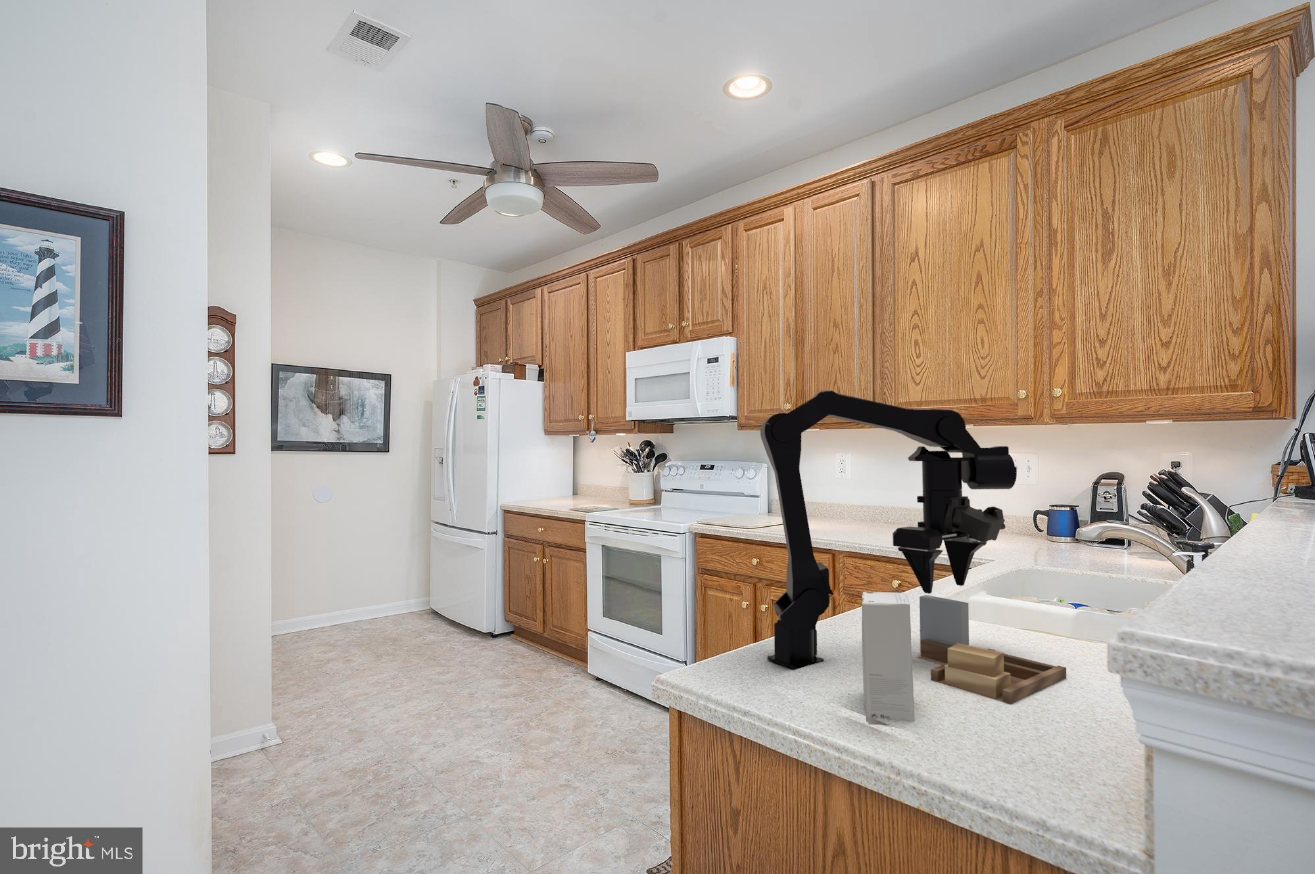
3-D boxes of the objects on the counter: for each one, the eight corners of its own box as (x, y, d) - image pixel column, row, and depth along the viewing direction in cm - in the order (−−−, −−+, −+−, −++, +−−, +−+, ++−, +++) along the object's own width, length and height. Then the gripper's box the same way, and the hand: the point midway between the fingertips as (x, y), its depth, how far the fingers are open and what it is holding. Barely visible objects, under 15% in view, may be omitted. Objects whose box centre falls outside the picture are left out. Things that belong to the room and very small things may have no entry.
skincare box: (915, 730, 78) (913, 605, 78) (862, 723, 79) (861, 601, 80) (910, 704, 86) (909, 590, 86) (862, 698, 87) (861, 588, 88)
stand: (946, 672, 98) (946, 648, 98) (916, 663, 102) (916, 641, 102) (971, 663, 102) (971, 640, 102) (941, 655, 106) (941, 633, 106)
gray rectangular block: (962, 664, 98) (961, 604, 99) (920, 652, 104) (919, 596, 104) (969, 661, 99) (968, 602, 100) (927, 650, 105) (926, 594, 105)
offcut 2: (995, 698, 85) (995, 679, 85) (945, 683, 90) (944, 665, 90) (1010, 691, 87) (1010, 673, 87) (960, 677, 93) (960, 659, 93)
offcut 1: (994, 677, 85) (993, 658, 85) (947, 666, 90) (947, 648, 90) (1003, 670, 88) (1003, 652, 88) (958, 660, 92) (958, 643, 92)
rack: (1010, 711, 83) (1010, 691, 83) (931, 686, 92) (930, 668, 92) (1066, 685, 92) (1066, 667, 92) (989, 664, 101) (988, 648, 101)
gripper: (959, 494, 90) (961, 607, 90) (1023, 489, 101) (1026, 589, 101) (889, 491, 100) (891, 593, 99) (955, 486, 110) (957, 578, 110)
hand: (944, 589), depth 102 cm, fingers open, 9 cm apart
